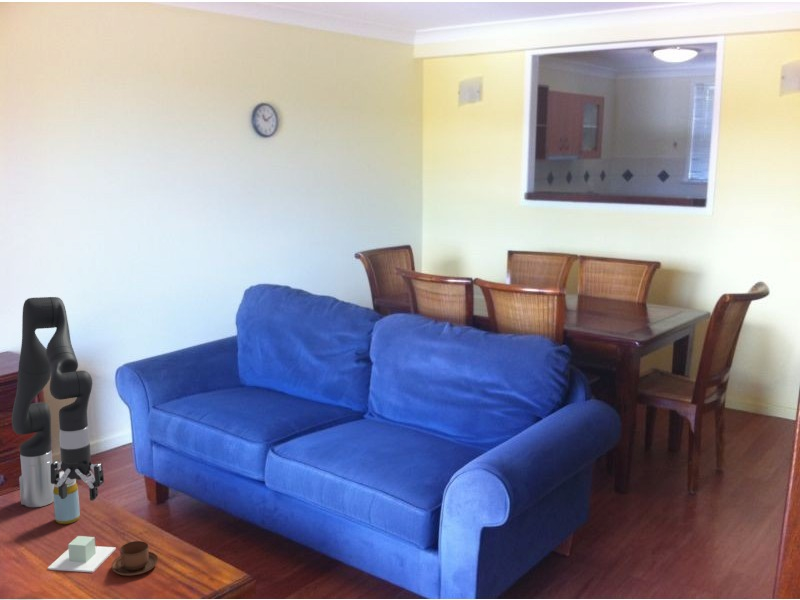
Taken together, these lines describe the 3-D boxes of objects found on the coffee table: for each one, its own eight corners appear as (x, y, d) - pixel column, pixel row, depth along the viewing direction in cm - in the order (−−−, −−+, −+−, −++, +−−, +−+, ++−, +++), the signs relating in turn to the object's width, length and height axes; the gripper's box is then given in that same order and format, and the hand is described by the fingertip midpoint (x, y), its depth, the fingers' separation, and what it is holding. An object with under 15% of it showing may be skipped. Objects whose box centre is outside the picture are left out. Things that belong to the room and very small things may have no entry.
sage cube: (69, 561, 210) (68, 544, 209) (79, 552, 215) (78, 535, 214) (86, 562, 209) (85, 545, 208) (95, 553, 214) (94, 537, 213)
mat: (47, 569, 207) (47, 567, 206) (73, 546, 219) (73, 544, 219) (92, 572, 205) (92, 570, 205) (115, 549, 218) (115, 547, 218)
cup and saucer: (143, 582, 201) (142, 560, 200) (102, 577, 203) (101, 555, 202) (166, 559, 213) (165, 539, 211) (127, 555, 215) (126, 535, 214)
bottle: (73, 525, 232) (70, 479, 229) (51, 524, 232) (47, 478, 230) (83, 515, 239) (80, 470, 236) (61, 514, 239) (58, 469, 236)
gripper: (106, 439, 209) (109, 494, 212) (57, 436, 211) (61, 491, 214) (92, 449, 202) (96, 506, 205) (42, 446, 203) (46, 503, 206)
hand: (78, 498), depth 209 cm, fingers open, 8 cm apart
